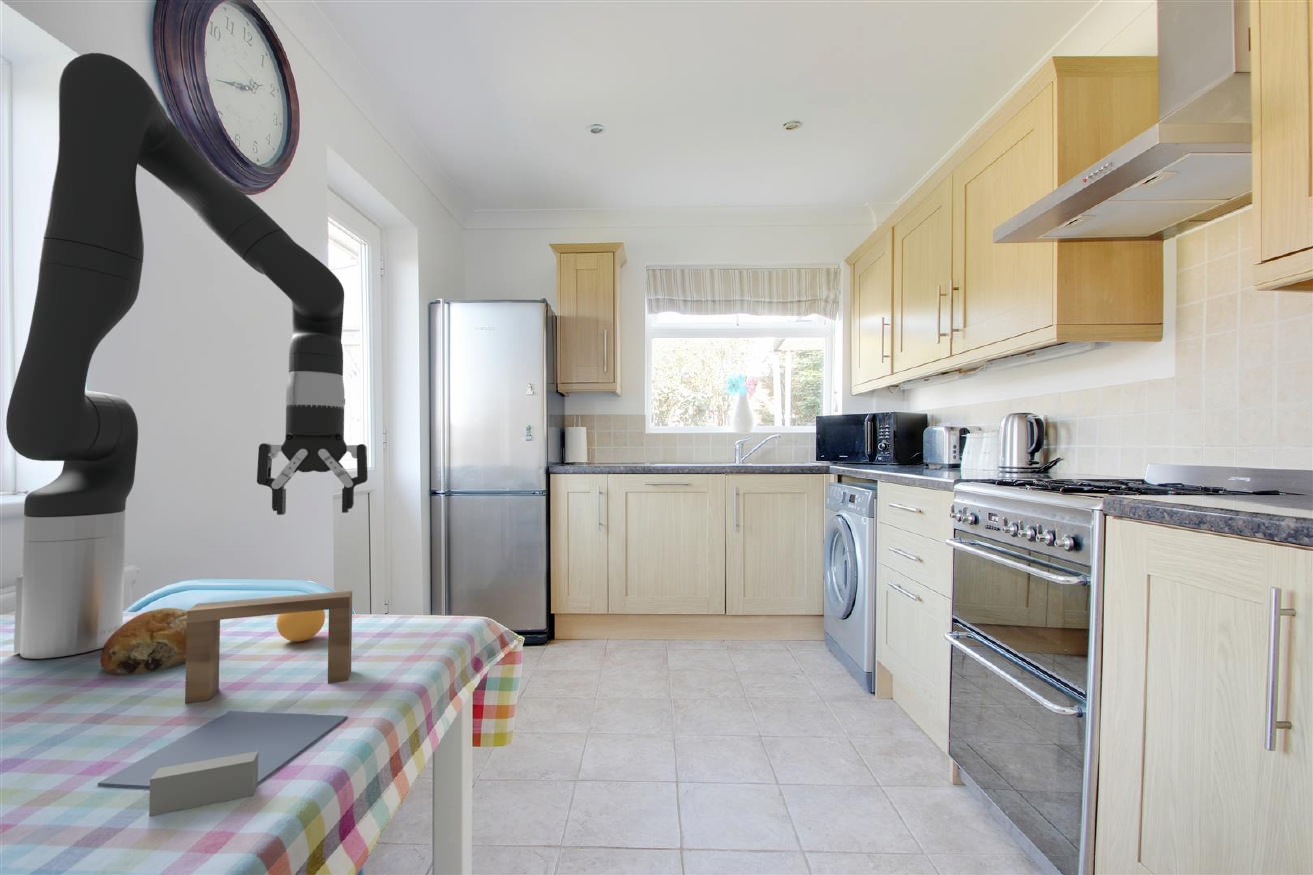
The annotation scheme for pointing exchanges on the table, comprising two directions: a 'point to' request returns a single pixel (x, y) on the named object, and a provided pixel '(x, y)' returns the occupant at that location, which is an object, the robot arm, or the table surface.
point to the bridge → (208, 615)
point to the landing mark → (234, 744)
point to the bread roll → (147, 643)
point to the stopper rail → (203, 783)
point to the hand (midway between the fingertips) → (314, 513)
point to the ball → (300, 625)
